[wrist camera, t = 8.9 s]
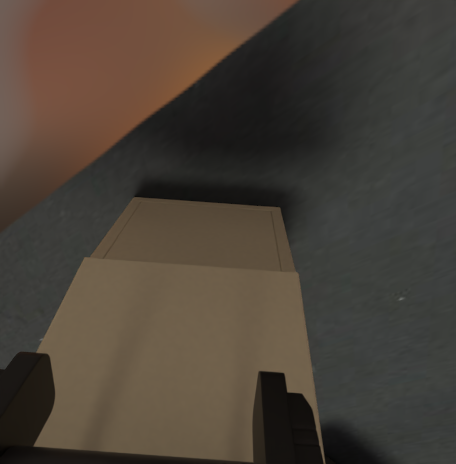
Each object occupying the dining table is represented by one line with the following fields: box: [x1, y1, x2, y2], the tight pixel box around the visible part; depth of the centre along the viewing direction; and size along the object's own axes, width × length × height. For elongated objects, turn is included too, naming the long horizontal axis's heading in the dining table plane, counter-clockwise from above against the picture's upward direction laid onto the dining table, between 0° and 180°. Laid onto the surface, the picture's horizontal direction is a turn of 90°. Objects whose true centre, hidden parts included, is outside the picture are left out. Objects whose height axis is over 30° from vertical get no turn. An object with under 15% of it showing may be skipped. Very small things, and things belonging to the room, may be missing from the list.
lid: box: [0, 257, 325, 464], centre depth 14 cm, size 14×12×5 cm
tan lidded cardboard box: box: [90, 197, 296, 272], centre depth 29 cm, size 14×12×10 cm
